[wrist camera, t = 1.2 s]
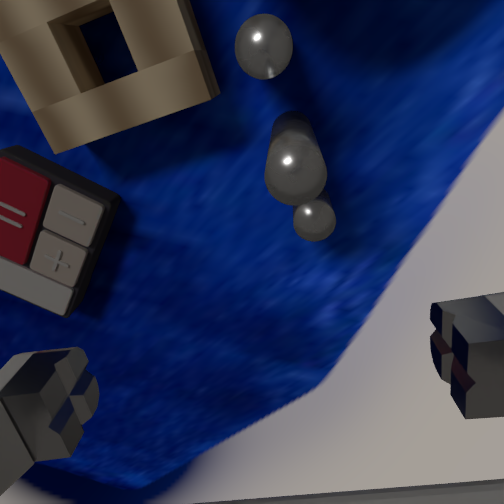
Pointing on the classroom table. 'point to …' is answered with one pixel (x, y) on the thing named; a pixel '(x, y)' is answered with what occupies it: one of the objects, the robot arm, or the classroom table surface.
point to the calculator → (49, 230)
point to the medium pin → (263, 46)
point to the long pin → (294, 160)
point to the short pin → (314, 218)
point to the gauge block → (86, 71)
